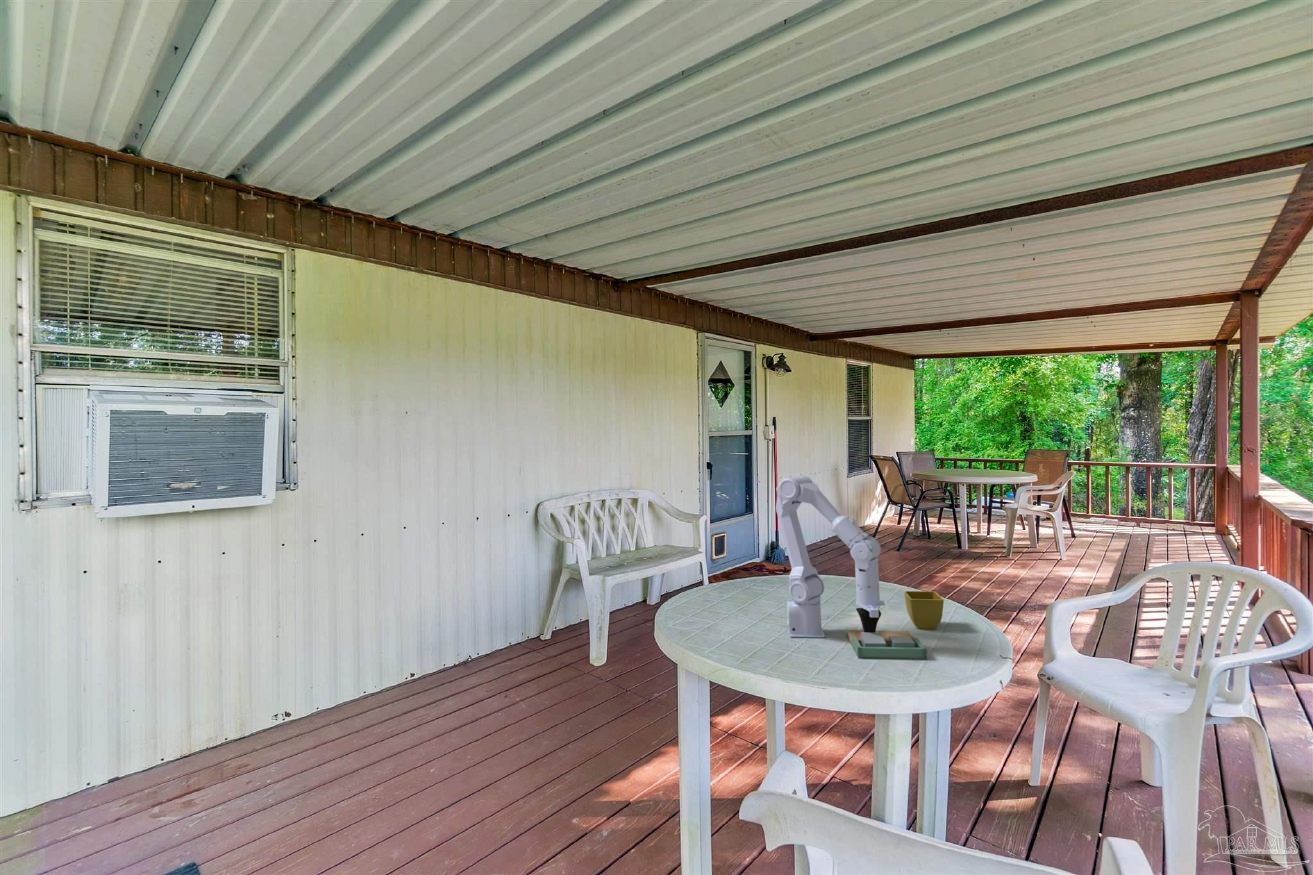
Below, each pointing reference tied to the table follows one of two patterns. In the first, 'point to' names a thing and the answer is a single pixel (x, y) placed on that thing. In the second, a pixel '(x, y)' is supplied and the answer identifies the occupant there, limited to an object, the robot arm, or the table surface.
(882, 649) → the tray
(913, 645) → the tile right
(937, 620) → the flower pot
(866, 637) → the tile left
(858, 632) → the board
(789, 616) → the robot arm
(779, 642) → the table surface
